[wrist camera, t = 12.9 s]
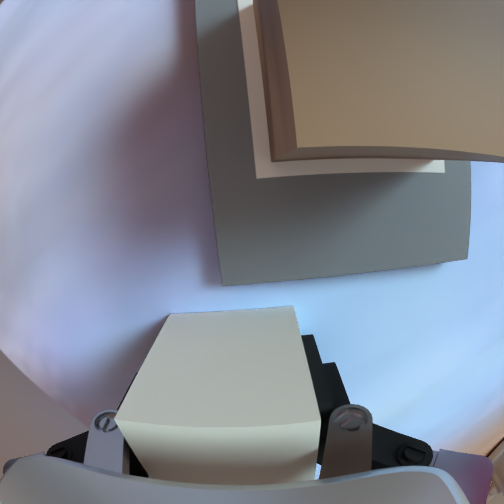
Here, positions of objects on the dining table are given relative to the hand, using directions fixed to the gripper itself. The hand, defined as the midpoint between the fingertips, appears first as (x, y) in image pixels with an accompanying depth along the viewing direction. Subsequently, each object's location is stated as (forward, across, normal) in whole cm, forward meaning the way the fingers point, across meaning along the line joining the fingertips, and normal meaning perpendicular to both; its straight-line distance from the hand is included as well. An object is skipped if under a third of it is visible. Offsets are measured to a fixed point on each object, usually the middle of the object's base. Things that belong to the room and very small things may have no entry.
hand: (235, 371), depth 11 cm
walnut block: (0, -5, -11) cm, 12 cm away
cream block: (+1, 0, 0) cm, 1 cm away
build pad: (+1, -5, -11) cm, 12 cm away
